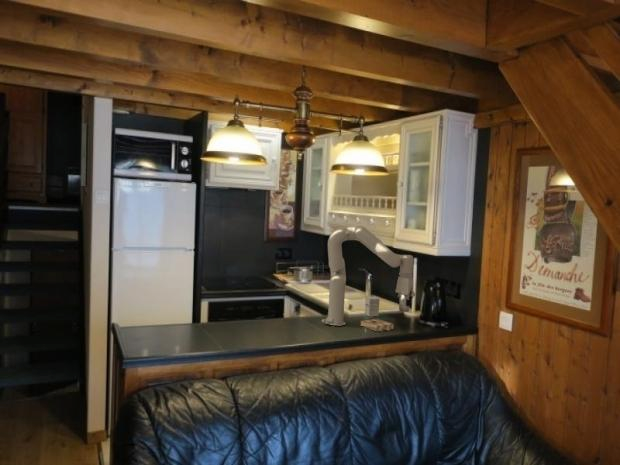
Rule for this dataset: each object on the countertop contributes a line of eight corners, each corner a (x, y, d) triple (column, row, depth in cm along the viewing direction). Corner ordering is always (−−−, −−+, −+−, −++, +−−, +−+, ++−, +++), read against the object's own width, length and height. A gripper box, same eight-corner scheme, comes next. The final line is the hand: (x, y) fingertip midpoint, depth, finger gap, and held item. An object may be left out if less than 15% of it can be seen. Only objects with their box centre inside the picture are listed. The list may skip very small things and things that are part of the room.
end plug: (404, 312, 294) (405, 292, 294) (396, 310, 300) (397, 291, 299) (411, 311, 298) (412, 292, 298) (403, 309, 303) (404, 290, 303)
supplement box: (364, 314, 336) (365, 296, 335) (374, 314, 338) (375, 296, 337) (368, 317, 329) (369, 298, 328) (378, 317, 331) (379, 298, 330)
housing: (376, 332, 291) (376, 326, 291) (360, 326, 302) (360, 321, 302) (393, 329, 299) (393, 323, 299) (377, 324, 310) (377, 318, 310)
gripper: (391, 273, 302) (389, 302, 303) (412, 277, 288) (410, 308, 290) (399, 273, 307) (398, 301, 308) (421, 277, 293) (419, 307, 294)
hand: (404, 304), depth 299 cm, fingers closed on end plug, 6 cm apart
